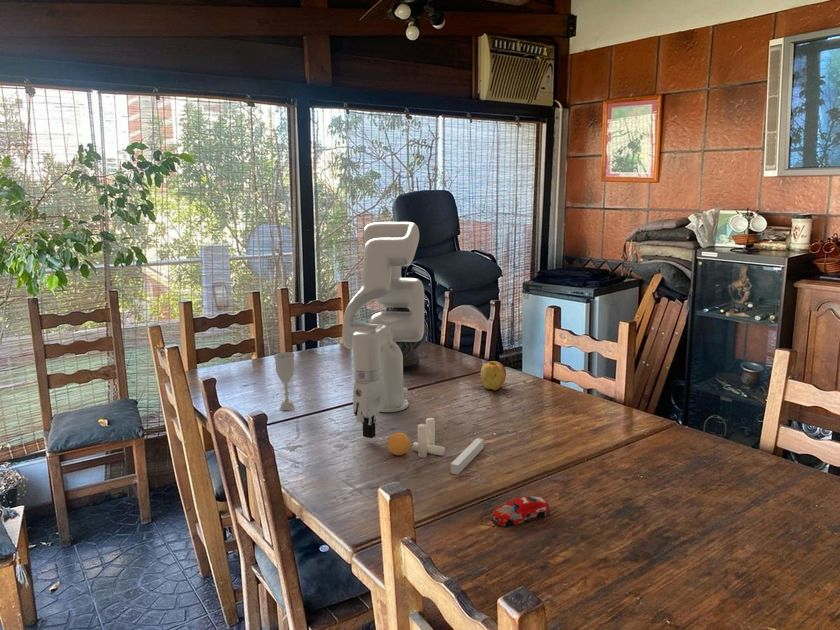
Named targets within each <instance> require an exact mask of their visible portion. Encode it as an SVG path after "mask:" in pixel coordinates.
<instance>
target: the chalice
mask: <svg viewBox="0 0 840 630" xmlns="http://www.w3.org/2000/svg"><path fill="white" fill-rule="evenodd" d="M295 356H296V353H294V352H289V351H287V352H286V351H285V352H279V353H275V354H274V355H273V358H274V362H275V371H276V374H277V377H278V378H279V380H280V383H282V384H284V388H283V390H284V393H283V395H284V398H285V399H284V400H283V401H282V402H281V403H280V404H281V405H280V407H279V410H280V409H281V410H280V411H282V410H289V411H292V409H293V410H294V409H296V406H295V405H294V401H292V400H290V399H289V395H290V393H289V390H290V388H289V387H288V384H289V383H290V382H291V380H292V378H293V375H294V371H295V361H294V359H295Z"/></svg>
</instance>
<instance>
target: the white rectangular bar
mask: <svg viewBox="0 0 840 630" xmlns="http://www.w3.org/2000/svg"><path fill="white" fill-rule="evenodd" d="M484 443H485V442H484V438H479V437H476V439H474V440H473V441H472V442H471V443H470V444H469V445H468V446H467V447H466V448H465V449H464V450H463V451H462V452H461V453H460V454H459V455H458V456H457V457H456V458H455V459H454V460H453V461H452V462H450V474H452V475H453V474H454V475H460V473H461V472H462V471H464V469H465V468H466V467H467V466H468V465H469V464H470V463H471V462H472V460H473V459H475V457H477V455H479V453H481V451H482V450H483V449H484V448H485V447H484V446H485V445H484Z"/></svg>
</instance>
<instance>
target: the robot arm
mask: <svg viewBox="0 0 840 630" xmlns="http://www.w3.org/2000/svg"><path fill="white" fill-rule="evenodd" d="M363 238H364V242H365V244H364V247H363V260H362V261H363V263H362V272H361V273H362V275H361V287H360V289H359V290H358V291H357V292H356V294H354V295H353V297H352V298H351V299H350V301H349V302H348V303H347V306H346V308H345V311H344V313H343V321H342V330H341V331H342V332H341V341H342V344H343V346H344V347H345V348H346V349H348V350H352V367H353V369H352V370H353V371H352V372H353V381H354V384H353V394H352V409H353V415H354V416H355V417H356V423H360V424H361V425H362V437H363V438H367V439H374V438H375V437H376V435H377V434H376V422H377V415H378V413H397V412H400V411H404V410H405V409H407V408H409V407H408V406H409V401H408V400H407V399H406V398H404V396H405V394H406V393H408V391H409V389H408V388H407V387H404V372H403V355H402V352H401V349H400V348H399V346H398V345H397V344H396V343H395V342H417V341H420V340H421V339H422V338H423V335H424V320H425V287H424V284H423V282H422V280H420V279H419V278H416V277H415V278H414V277H402V267H408V266H410V265H411V264H412V262H413V260H414V258H415V255H416V252H417V249H418V244H419V241H420V230H419V226H418V225H417V224H416V223H415V222H411V221H376V222H370V223H368V224H367V225H365V226H364V228H363ZM373 301H374V302H375V304H376V305H378V307H382V308H394V307H401V308H409V309H410V312H389V311H380V312H376V313H374V314H373V315H371V317H370V320H369V323H355V320H356V316H357V314H358V312H359V311H360V310H361V309H362V308H363V307H364V306H366V305H367V304H369V303H371V302H373Z"/></svg>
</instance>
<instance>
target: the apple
mask: <svg viewBox="0 0 840 630" xmlns="http://www.w3.org/2000/svg"><path fill="white" fill-rule="evenodd" d="M506 377H507V371H506V368H505V365H504V364H502V363H501V362H499V361H495V360H493V361H492V360H491V361H487V362H486V363H484V364H483V365H482V366H481V369H480V380H481V382H482V385H483V387H485V389H487V390H490V389H492V390H491V391H497V390H499V389H500V388H501V387H502V386H503V385H504V383H505V381H506Z"/></svg>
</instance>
